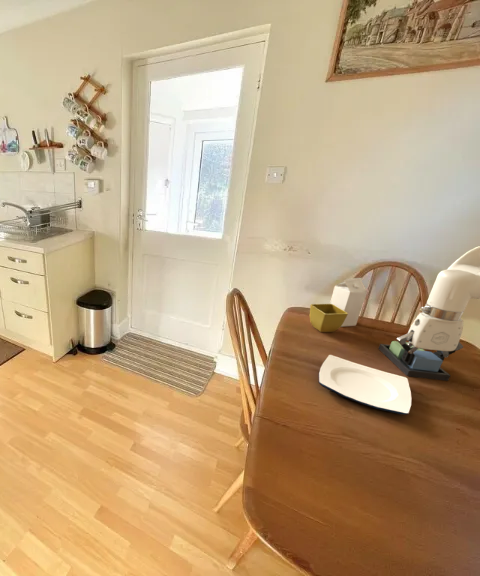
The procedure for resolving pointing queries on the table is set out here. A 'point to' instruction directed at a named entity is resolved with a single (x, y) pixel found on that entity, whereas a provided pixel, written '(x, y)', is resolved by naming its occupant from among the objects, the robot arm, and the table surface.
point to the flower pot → (326, 317)
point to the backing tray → (413, 372)
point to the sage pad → (399, 349)
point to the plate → (366, 385)
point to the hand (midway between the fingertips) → (420, 363)
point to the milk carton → (349, 299)
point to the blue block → (425, 361)
